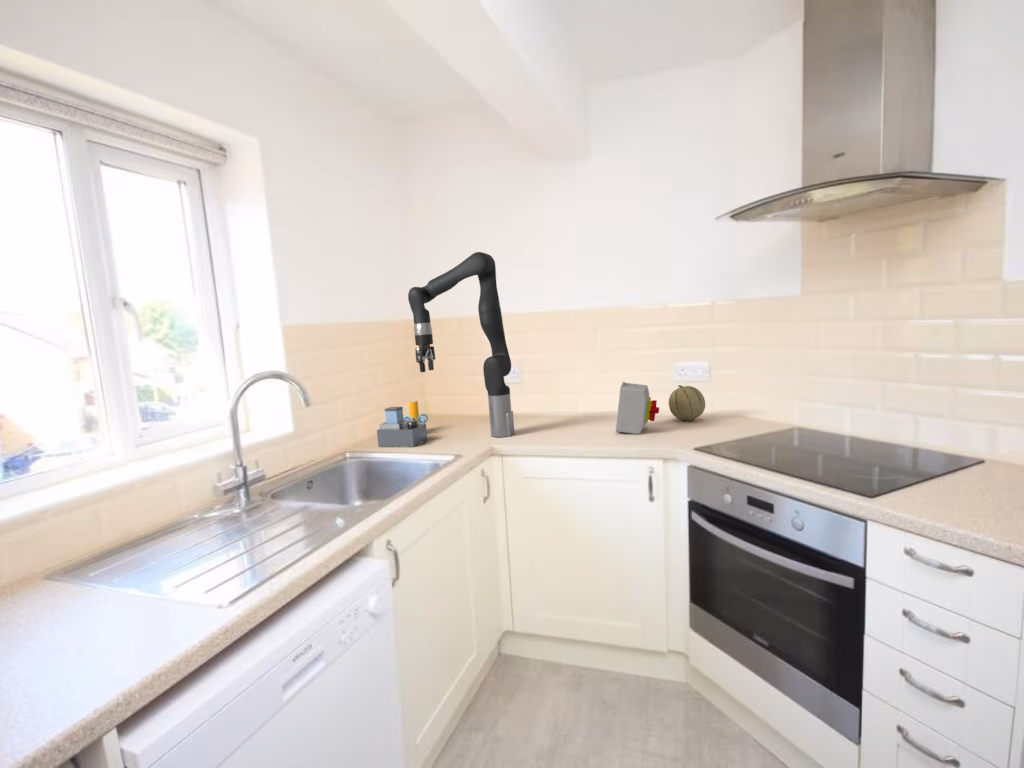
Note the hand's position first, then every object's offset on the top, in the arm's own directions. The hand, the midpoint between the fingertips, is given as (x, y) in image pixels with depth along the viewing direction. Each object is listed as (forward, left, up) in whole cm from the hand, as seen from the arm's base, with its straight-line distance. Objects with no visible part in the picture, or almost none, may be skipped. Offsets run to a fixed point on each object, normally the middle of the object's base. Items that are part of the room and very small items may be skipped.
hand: (427, 371), depth 224 cm
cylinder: (+8, 0, -28) cm, 29 cm away
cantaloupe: (-107, -25, -28) cm, 113 cm away
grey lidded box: (+8, +17, -21) cm, 28 cm away
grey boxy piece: (+5, +17, -28) cm, 33 cm away
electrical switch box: (-88, -5, -28) cm, 93 cm away
